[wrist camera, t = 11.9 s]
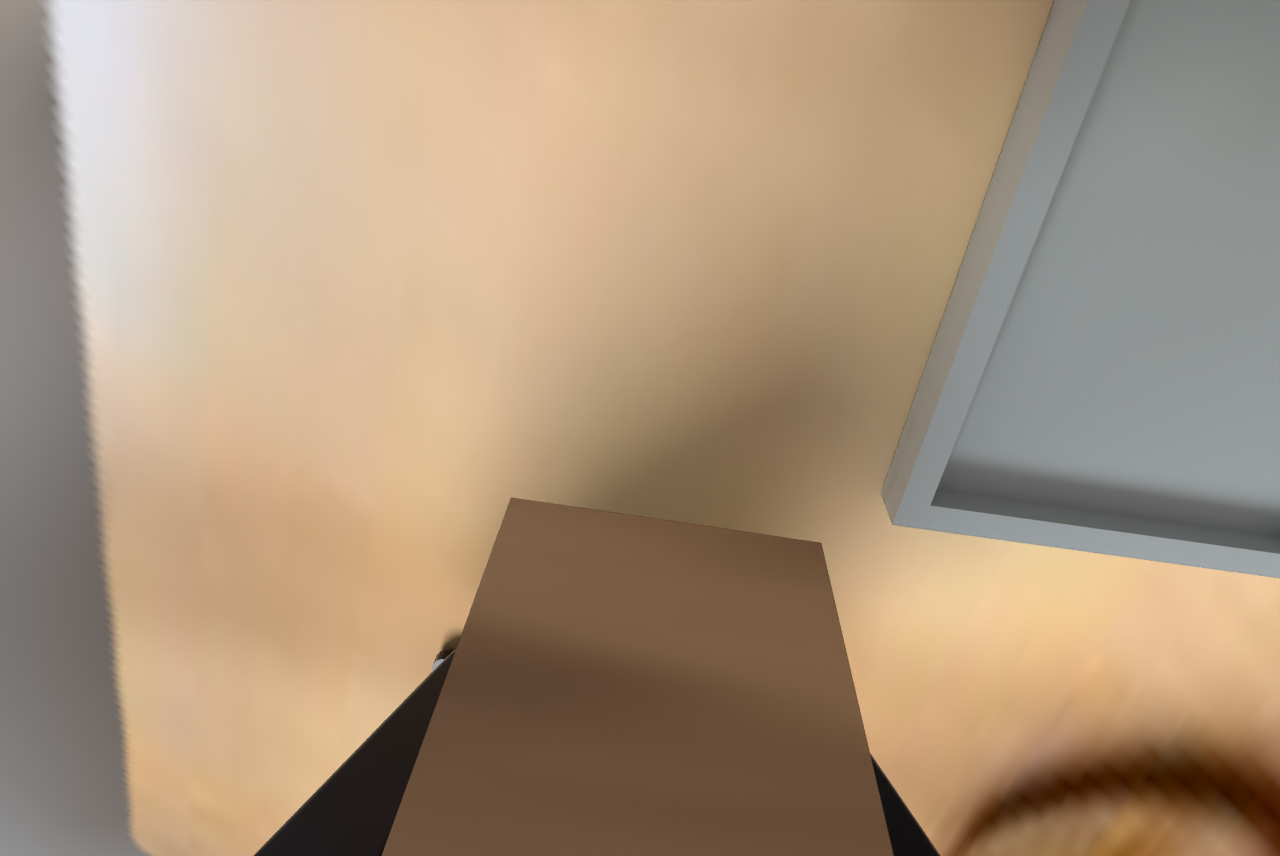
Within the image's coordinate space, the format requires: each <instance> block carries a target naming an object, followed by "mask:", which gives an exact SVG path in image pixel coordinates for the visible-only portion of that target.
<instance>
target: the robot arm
mask: <svg viewBox="0 0 1280 856" xmlns="http://www.w3.org/2000/svg"><path fill="white" fill-rule="evenodd" d="M455 651H456V650H454V651H452V650H444V651H441V652H440V653H439V654H437V657H436V659H435V662H434V665H433V672H432V673H431V674H430V675H429V676H428V677H427V678H426V679H425V680H424V681H423V682H422V683H421V684H420V685H419V686H418V687H417V688H416V689H415V690H414V691H413V692H412V693H411V694H410V695H409V696H408V698H407V699H406V700H405V701H404V702H403V703H402V704H401V705H400V706H399V707H398V708H397V709H396V710H395V711H394V712H393V713H392V714H391V715H390V716H389V717H388V718H387V719H386V720H385V721H384V722H383V723H382V724H381V725H380V726H379V727H378V728H377V729H376V730H375V731H374V732H373V733H372V734H371V736H370V737H369V738H368V739H367V740H366V741H365V742H364V743H363V744H362V745H361V746H360V747H359V748H358V749H357V750H356V751H355V752H354V753H353V754H352V755H351V756H350V757H349V758H348V759H347V760H346V761H345V762H344V763H343V764H342V765H341V766H340V767H339V768H338V769H337V770H336V771H335V773H334V774H333V775H332V776H331V777H330V778H329V779H328V780H327V781H326V782H325V783H324V784H323V785H322V786H321V787H320V788H319V789H318V790H317V791H316V792H315V793H314V794H313V795H312V796H311V797H310V798H309V799H308V800H307V801H306V802H305V803H304V804H303V805H302V806H301V807H300V808H299V810H298V811H297V812H296V813H295V814H294V815H293V816H292V817H291V818H290V819H289V820H288V821H287V822H286V823H285V824H284V825H283V826H282V827H281V828H280V829H279V830H278V831H277V832H276V833H275V834H274V835H273V836H272V837H271V838H270V839H269V840H268V841H267V842H266V843H265V844H264V845H263V846H262V848H261V849H260V850H259V851H258V852H257V853H256V854H255V855H254V856H382V853H383V851H384V848H385V845H386V842H387V840H388V837H389V834H390V831H391V829H392V826H393V823H394V820H395V818H396V815H397V812H398V809H399V806H400V804H401V801H402V798H403V795H404V793H405V790H406V787H407V784H408V782H409V779H410V776H411V773H412V770H413V768H414V765H415V762H416V759H417V757H418V754H419V751H420V748H421V746H422V743H423V740H424V737H425V734H426V732H427V729H428V726H429V723H430V721H431V718H432V715H433V712H434V710H435V707H436V704H437V701H438V698H439V696H440V693H441V690H442V687H443V685H444V682H445V679H446V676H447V674H448V671H449V668H450V665H451V662H452V660H453V657H454V654H455ZM870 756H871V760H872V764H873V769H874V773H875V777H876V782H877V786H878V790H879V795H880V799H881V803H882V808H883V812H884V816H885V821H886V825H887V829H888V834H889V838H890V842H891V847H892V851H893V855H894V856H940V854H939V853H938V851H937V850H936V848H935V847H934V845H933V844H932V843H931V841H930V840H929V838H928V837H927V835H926V834H925V832H924V831H923V829H922V828H921V826H920V825H919V824H918V822H917V821H916V819H915V818H914V816H913V815H912V813H911V812H910V810H909V809H908V808H907V806H906V805H905V803H904V802H903V800H902V799H901V797H900V796H899V794H898V793H897V791H896V790H895V789H894V787H893V786H892V784H891V783H890V781H889V780H888V778H887V777H886V775H885V774H884V773H883V771H882V770H881V768H880V767H879V765H878V764H877V762H876V761H875V759H874V758H873V757H872V755H871V754H870Z"/></svg>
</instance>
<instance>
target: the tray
mask: <svg viewBox="0 0 1280 856" xmlns="http://www.w3.org/2000/svg"><path fill="white" fill-rule="evenodd" d="M881 495H882V498H883V501H884V503H885V506H886V509H887V511H888V514H889V517H890V519H891V522H892V525H897V526H904V527H912V528H919V529H926V530H933V531H941V532H948V533H955V534H962V535H970V536H977V537H984V538H991V539H999V540H1006V541H1013V542H1020V543H1028V544H1035V545H1042V546H1049V547H1057V548H1064V549H1071V550H1078V551H1086V552H1093V553H1100V554H1107V555H1115V556H1122V557H1129V558H1136V559H1144V560H1151V561H1158V562H1165V563H1173V564H1180V565H1187V566H1194V567H1202V568H1209V569H1216V570H1223V571H1231V572H1238V573H1245V574H1252V575H1260V576H1267V577H1274V578H1280V0H1054V3H1053V6H1052V9H1051V11H1050V14H1049V17H1048V20H1047V23H1046V26H1045V28H1044V31H1043V34H1042V37H1041V40H1040V43H1039V46H1038V48H1037V51H1036V54H1035V57H1034V60H1033V63H1032V65H1031V68H1030V71H1029V74H1028V77H1027V80H1026V82H1025V85H1024V88H1023V91H1022V94H1021V97H1020V100H1019V102H1018V105H1017V108H1016V111H1015V114H1014V117H1013V119H1012V122H1011V125H1010V128H1009V131H1008V134H1007V137H1006V139H1005V142H1004V145H1003V148H1002V151H1001V154H1000V156H999V159H998V162H997V165H996V168H995V171H994V173H993V176H992V179H991V182H990V185H989V188H988V191H987V193H986V196H985V199H984V202H983V205H982V208H981V210H980V213H979V216H978V219H977V222H976V225H975V227H974V230H973V233H972V236H971V239H970V242H969V245H968V247H967V250H966V253H965V256H964V259H963V262H962V264H961V267H960V270H959V273H958V276H957V279H956V281H955V284H954V287H953V290H952V293H951V296H950V299H949V301H948V304H947V307H946V310H945V313H944V316H943V318H942V321H941V324H940V327H939V330H938V333H937V335H936V338H935V341H934V344H933V347H932V350H931V353H930V355H929V358H928V361H927V364H926V367H925V370H924V372H923V375H922V378H921V381H920V384H919V387H918V389H917V392H916V395H915V398H914V401H913V404H912V407H911V409H910V412H909V415H908V418H907V421H906V424H905V426H904V429H903V432H902V435H901V438H900V441H899V444H898V446H897V449H896V452H895V455H894V458H893V461H892V463H891V466H890V469H889V472H888V475H887V478H886V480H885V483H884V486H883V489H882V492H881Z"/></svg>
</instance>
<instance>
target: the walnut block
mask: <svg viewBox="0 0 1280 856" xmlns="http://www.w3.org/2000/svg"><path fill="white" fill-rule="evenodd" d="M382 856H894V855H893V851H892V847H891V842H890V838H889V834H888V829H887V825H886V821H885V816H884V812H883V808H882V803H881V799H880V795H879V790H878V786H877V782H876V777H875V773H874V769H873V764H872V760H871V756H870V752H869V747H868V743H867V739H866V734H865V730H864V726H863V721H862V717H861V713H860V708H859V704H858V700H857V695H856V691H855V687H854V682H853V678H852V674H851V669H850V665H849V661H848V657H847V652H846V648H845V644H844V639H843V635H842V631H841V626H840V622H839V618H838V613H837V609H836V605H835V600H834V596H833V592H832V587H831V583H830V579H829V574H828V570H827V566H826V562H825V557H824V553H823V549H822V544H821V543H818V542H811V541H804V540H798V539H791V538H784V537H777V536H770V535H763V534H757V533H750V532H743V531H736V530H729V529H722V528H716V527H709V526H702V525H695V524H688V523H681V522H674V521H668V520H661V519H654V518H647V517H640V516H633V515H627V514H620V513H613V512H606V511H599V510H592V509H585V508H579V507H572V506H565V505H558V504H551V503H544V502H538V501H531V500H524V499H517V498H511V499H510V502H509V505H508V507H507V510H506V513H505V516H504V519H503V521H502V524H501V527H500V530H499V532H498V535H497V538H496V541H495V543H494V546H493V549H492V552H491V555H490V557H489V560H488V563H487V566H486V568H485V571H484V574H483V577H482V579H481V582H480V585H479V588H478V591H477V593H476V596H475V599H474V602H473V604H472V607H471V610H470V613H469V615H468V618H467V621H466V624H465V626H464V629H463V632H462V635H461V638H460V640H459V643H458V646H457V649H456V651H455V654H454V657H453V660H452V662H451V665H450V668H449V671H448V674H447V676H446V679H445V682H444V685H443V687H442V690H441V693H440V696H439V698H438V701H437V704H436V707H435V710H434V712H433V715H432V718H431V721H430V723H429V726H428V729H427V732H426V734H425V737H424V740H423V743H422V746H421V748H420V751H419V754H418V757H417V759H416V762H415V765H414V768H413V770H412V773H411V776H410V779H409V782H408V784H407V787H406V790H405V793H404V795H403V798H402V801H401V804H400V806H399V809H398V812H397V815H396V818H395V820H394V823H393V826H392V829H391V831H390V834H389V837H388V840H387V842H386V845H385V848H384V851H383V853H382Z"/></svg>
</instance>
